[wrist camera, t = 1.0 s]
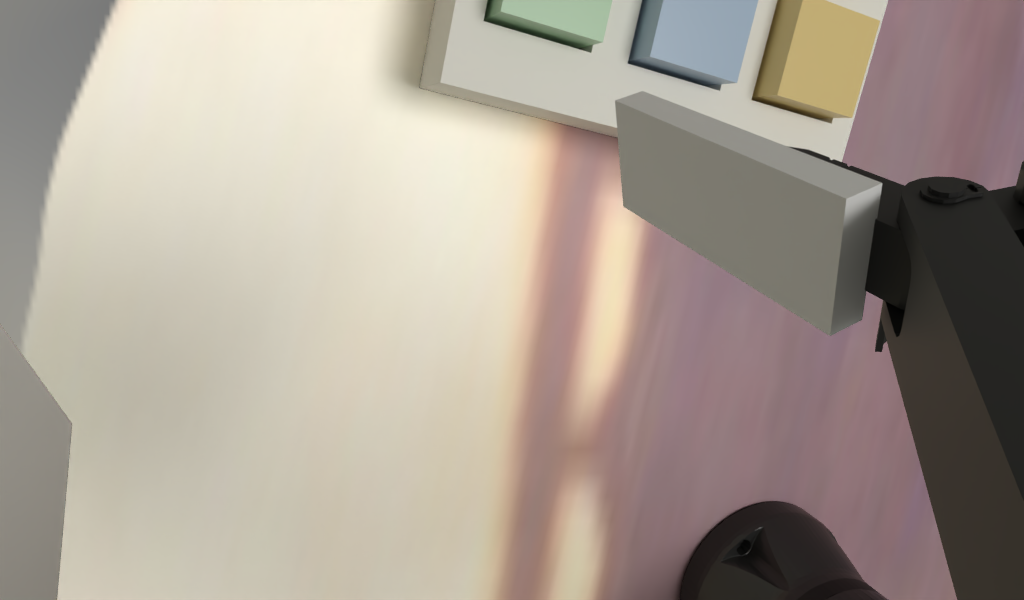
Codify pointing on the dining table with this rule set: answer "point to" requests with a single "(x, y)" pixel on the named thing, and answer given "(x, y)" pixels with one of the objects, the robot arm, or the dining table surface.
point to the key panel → (609, 75)
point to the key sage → (553, 19)
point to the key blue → (693, 38)
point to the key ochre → (815, 58)
